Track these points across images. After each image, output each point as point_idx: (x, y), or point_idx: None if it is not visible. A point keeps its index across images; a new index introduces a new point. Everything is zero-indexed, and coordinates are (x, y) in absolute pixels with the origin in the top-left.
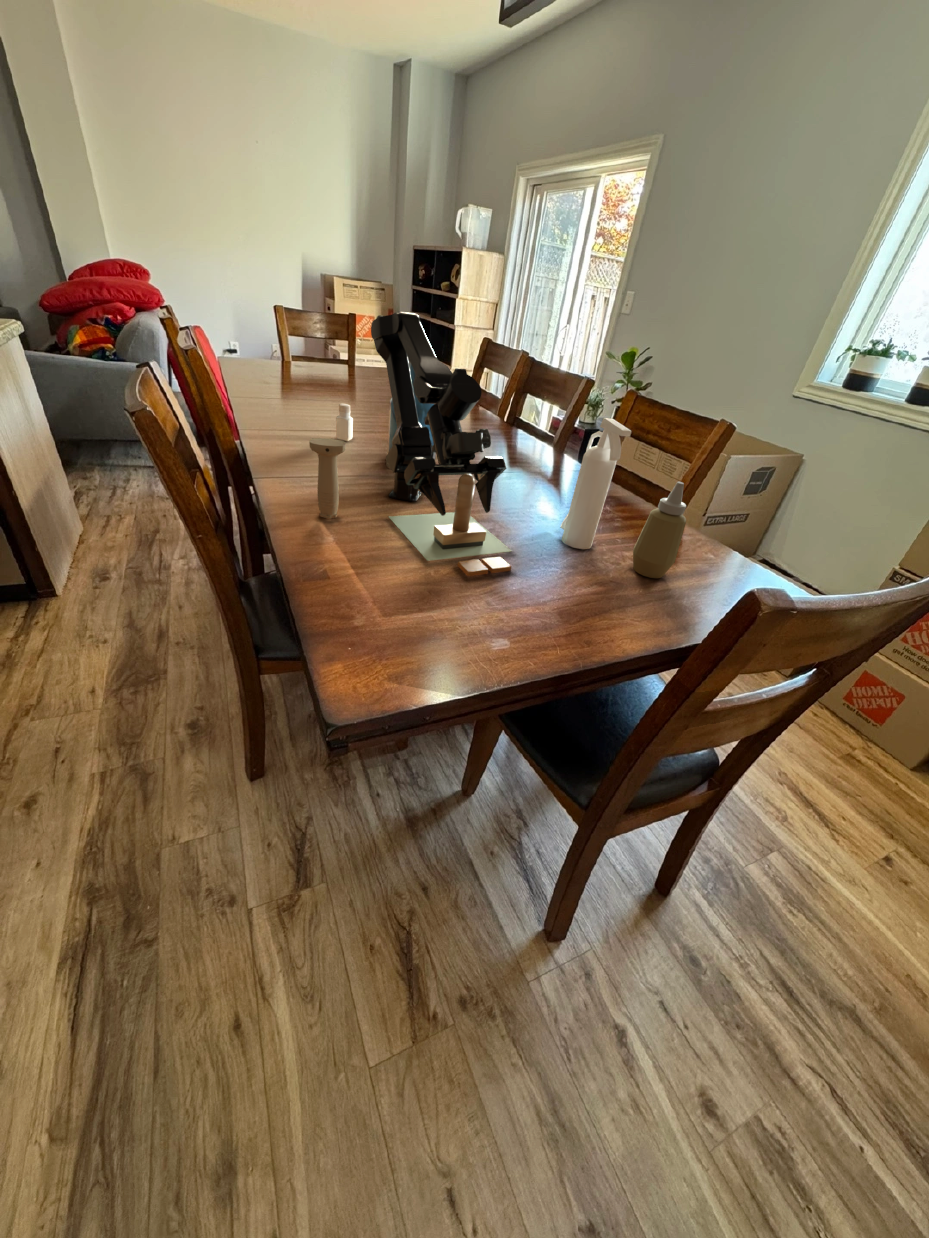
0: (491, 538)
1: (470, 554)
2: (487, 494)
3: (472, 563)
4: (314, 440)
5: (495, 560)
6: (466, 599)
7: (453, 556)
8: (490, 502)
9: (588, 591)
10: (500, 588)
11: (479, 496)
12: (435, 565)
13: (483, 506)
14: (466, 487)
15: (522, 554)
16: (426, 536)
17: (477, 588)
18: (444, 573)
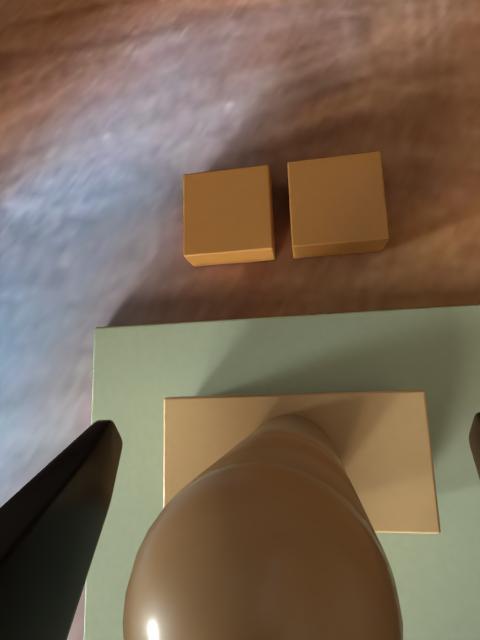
0: None
1: (286, 328)
2: (32, 516)
3: (333, 212)
4: None
5: (222, 225)
6: (430, 55)
7: (373, 321)
8: (55, 461)
9: (9, 70)
10: (276, 109)
11: (67, 630)
12: (464, 297)
13: (108, 495)
14: (315, 469)
15: (58, 329)
16: (435, 556)
17: (359, 115)
18: (447, 229)
